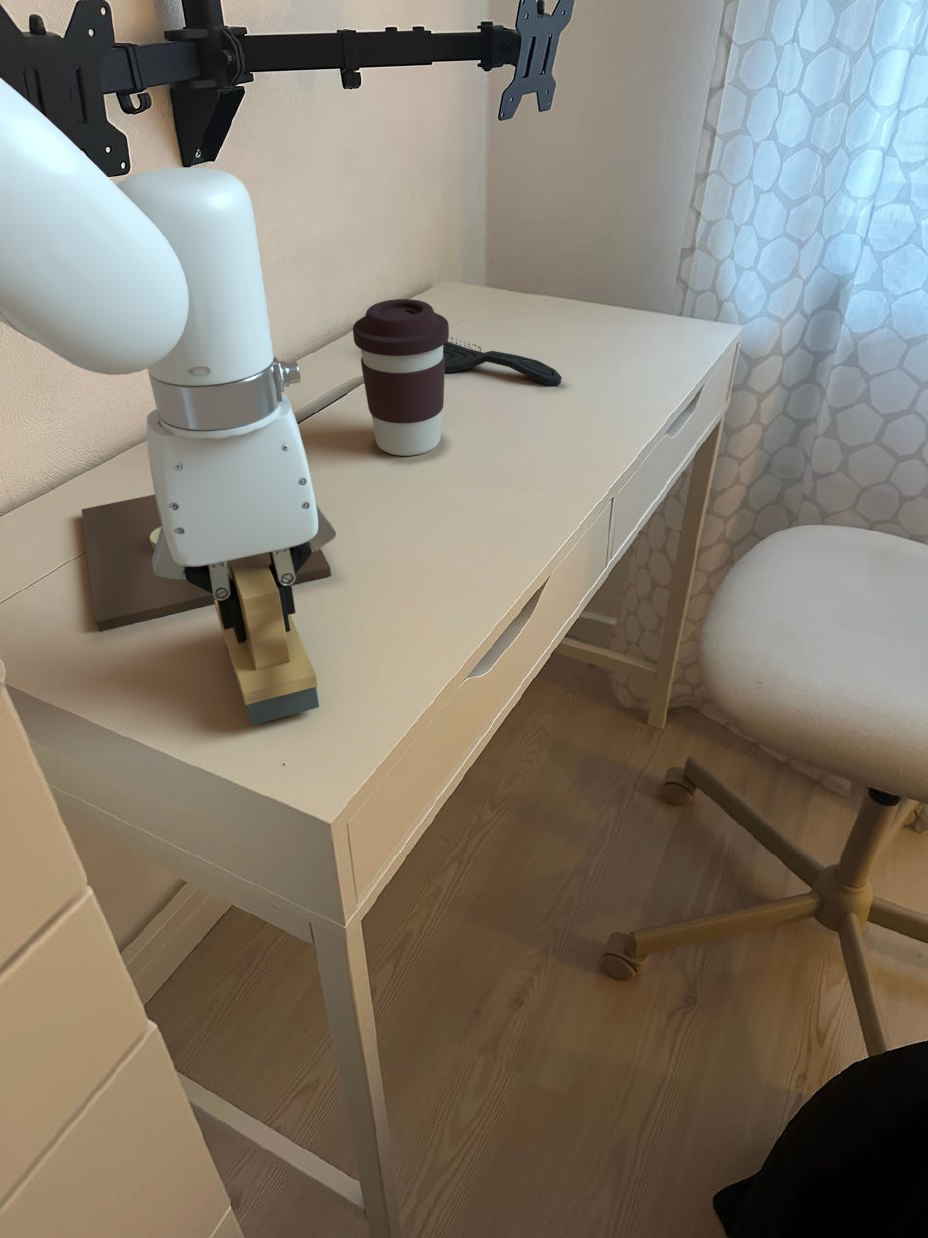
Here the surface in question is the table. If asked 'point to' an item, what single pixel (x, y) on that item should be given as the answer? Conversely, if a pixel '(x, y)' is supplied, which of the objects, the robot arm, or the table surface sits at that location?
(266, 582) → the brush
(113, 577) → the tray
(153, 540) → the disc
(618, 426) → the table surface
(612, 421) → the table surface
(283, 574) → the robot arm
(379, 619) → the table surface
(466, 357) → the hairbrush
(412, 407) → the coffee cup
